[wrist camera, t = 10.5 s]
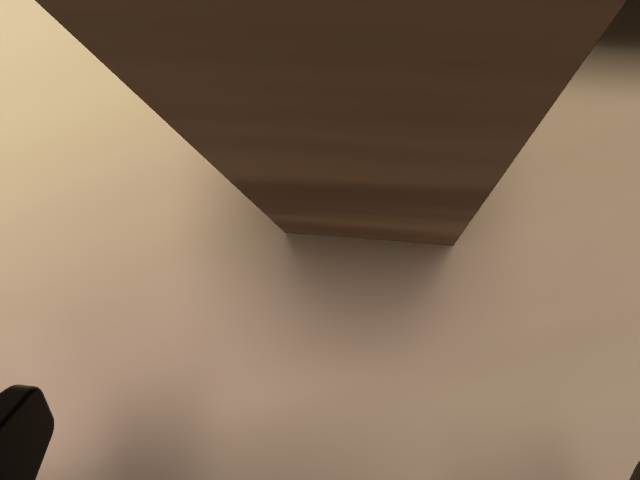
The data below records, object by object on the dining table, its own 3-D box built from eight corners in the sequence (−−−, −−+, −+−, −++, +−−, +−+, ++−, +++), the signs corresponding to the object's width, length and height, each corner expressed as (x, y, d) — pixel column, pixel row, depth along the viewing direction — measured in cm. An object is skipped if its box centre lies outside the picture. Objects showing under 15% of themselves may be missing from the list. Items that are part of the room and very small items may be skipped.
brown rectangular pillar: (453, 245, 18) (664, -55, 4) (284, 232, 18) (-36, -65, 5) (464, 81, 18) (678, -657, 5) (301, 74, 19) (66, -592, 5)
